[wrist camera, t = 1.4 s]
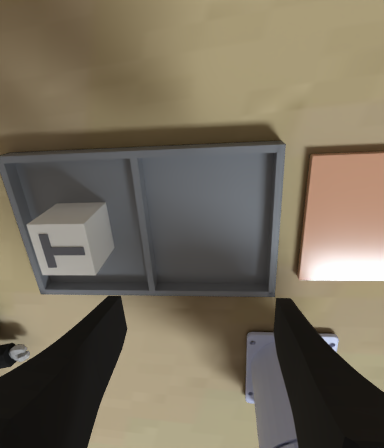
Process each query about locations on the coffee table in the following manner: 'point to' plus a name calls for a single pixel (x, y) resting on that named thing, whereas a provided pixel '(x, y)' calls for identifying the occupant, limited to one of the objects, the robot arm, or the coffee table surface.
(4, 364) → the robot toy
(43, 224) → the letter cube
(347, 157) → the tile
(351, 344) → the coffee table surface
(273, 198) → the sorting tray
